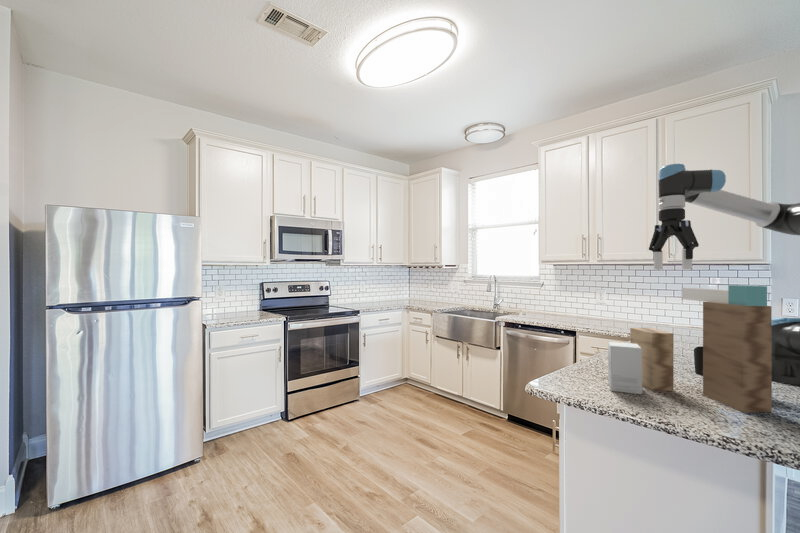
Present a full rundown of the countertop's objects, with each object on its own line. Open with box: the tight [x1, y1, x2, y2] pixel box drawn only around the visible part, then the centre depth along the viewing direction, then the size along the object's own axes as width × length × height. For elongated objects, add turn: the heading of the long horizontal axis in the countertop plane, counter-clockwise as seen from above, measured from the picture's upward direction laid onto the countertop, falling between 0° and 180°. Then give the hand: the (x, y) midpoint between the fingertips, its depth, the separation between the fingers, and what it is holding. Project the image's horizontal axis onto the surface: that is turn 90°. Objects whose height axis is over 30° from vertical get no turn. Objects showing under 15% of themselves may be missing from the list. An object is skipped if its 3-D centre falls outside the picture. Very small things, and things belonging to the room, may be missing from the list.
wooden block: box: [629, 327, 674, 392], centre depth 128 cm, size 7×12×19 cm, turn 178°
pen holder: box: [693, 345, 703, 376], centre depth 142 cm, size 9×9×10 cm
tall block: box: [702, 301, 773, 413], centre depth 111 cm, size 8×14×30 cm, turn 178°
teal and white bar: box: [681, 284, 768, 306], centre depth 117 cm, size 26×6×6 cm, turn 179°
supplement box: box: [607, 341, 643, 395], centre depth 123 cm, size 9×9×15 cm
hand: (671, 269), depth 129 cm, fingers open, 13 cm apart
